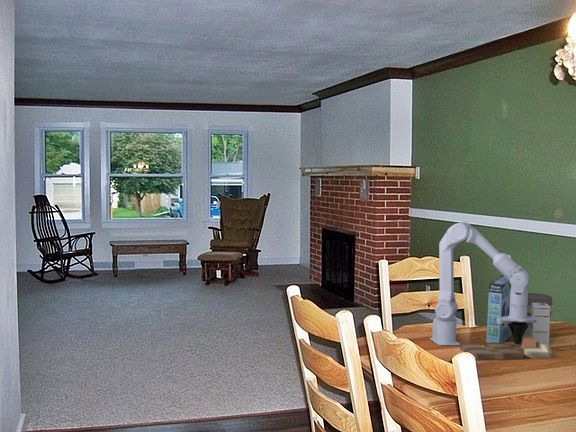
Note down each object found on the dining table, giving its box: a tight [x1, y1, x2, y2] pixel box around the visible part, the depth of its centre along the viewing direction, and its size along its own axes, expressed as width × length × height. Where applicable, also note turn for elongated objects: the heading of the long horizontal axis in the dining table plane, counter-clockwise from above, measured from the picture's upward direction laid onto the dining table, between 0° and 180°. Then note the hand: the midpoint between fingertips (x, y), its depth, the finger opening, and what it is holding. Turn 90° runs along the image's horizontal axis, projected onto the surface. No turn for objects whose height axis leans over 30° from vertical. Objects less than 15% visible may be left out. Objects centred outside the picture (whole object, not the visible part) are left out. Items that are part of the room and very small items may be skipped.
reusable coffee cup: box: [523, 292, 553, 336], centre depth 243 cm, size 13×13×15 cm
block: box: [519, 335, 536, 348], centre depth 219 cm, size 4×4×3 cm
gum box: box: [485, 275, 512, 343], centre depth 232 cm, size 20×5×23 cm, turn 149°
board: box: [459, 341, 552, 361], centre depth 216 cm, size 14×26×4 cm, turn 98°
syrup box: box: [530, 303, 551, 347], centre depth 230 cm, size 6×6×14 cm
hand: (517, 343), depth 219 cm, fingers closed
